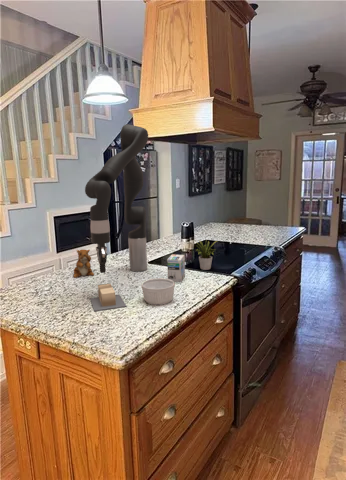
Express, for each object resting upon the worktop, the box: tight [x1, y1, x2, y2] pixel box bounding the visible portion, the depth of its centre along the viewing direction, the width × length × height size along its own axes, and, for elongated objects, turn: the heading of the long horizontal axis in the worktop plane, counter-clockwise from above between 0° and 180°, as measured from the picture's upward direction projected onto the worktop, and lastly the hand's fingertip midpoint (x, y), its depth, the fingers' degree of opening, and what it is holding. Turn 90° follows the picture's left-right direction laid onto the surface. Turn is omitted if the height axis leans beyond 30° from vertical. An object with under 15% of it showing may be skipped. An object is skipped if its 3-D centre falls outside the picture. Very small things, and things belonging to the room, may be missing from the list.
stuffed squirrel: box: [73, 249, 95, 279], centre depth 173 cm, size 10×14×13 cm
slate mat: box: [89, 293, 127, 312], centre depth 134 cm, size 14×12×1 cm
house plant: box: [192, 239, 218, 271], centre depth 179 cm, size 14×14×16 cm
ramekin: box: [141, 277, 176, 305], centre depth 136 cm, size 13×13×7 cm
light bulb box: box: [166, 254, 186, 283], centre depth 163 cm, size 11×7×11 cm, turn 168°
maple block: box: [97, 282, 116, 307], centre depth 135 cm, size 5×5×12 cm
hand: (102, 272), depth 141 cm, fingers closed
